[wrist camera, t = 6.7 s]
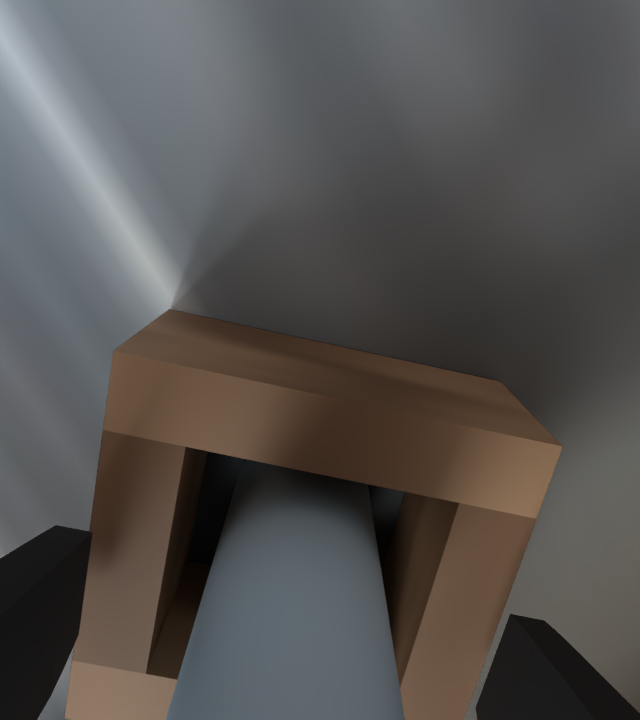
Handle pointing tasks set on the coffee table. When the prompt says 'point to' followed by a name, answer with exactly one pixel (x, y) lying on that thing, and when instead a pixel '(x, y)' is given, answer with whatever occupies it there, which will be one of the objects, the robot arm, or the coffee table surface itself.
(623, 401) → the coffee table surface
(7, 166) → the coffee table surface
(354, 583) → the dowel
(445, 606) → the brown square frame
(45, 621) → the robot arm
